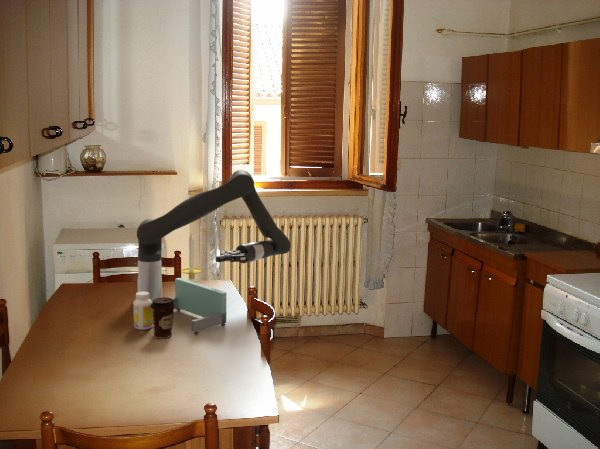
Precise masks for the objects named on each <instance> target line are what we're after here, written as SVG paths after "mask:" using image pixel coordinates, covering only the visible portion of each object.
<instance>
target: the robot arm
mask: <svg viewBox="0 0 600 449" xmlns="http://www.w3.org/2000/svg"><path fill="white" fill-rule="evenodd" d="M239 198H241V199H242V200H243V202H244V203H245V205H246V207H247V209H248V211H249V213H250V215H251V217H252V219H253V221H254V222H255V225H256V227H257V228H258V230H259V232H260V233H261V235H262V237H264V238H267V239H266V240H260V241H256V242H255V241H253V242H247V243H243V244H239V245H238V246H237V247H236V248H235V249H231V250H229V251H227V249H226V250H225V249H224V250H222V251H221V253H220V255H216V256H215V262H216V263H223V262H230V263H241V264H246V263H253V262H257V261H259V260H262V259H265V258H268V257H272V256H279V255H284V254H285V255H286V254H287V253H289V252H290V251H291V241H290V239H289V238H288V236H287V235H286V234H285V232H283V231H282V230H281V229H280V228H279V227H278V226H277V224H276V222H275V220H274V219H273V217H272V215H271V214H270V212H269V210H268V209H267V208H266V207H267V206H265V204H264V203H263V201H262V199H261V197H260V196H259V194H258V192H257V190H256V188H255V181H254V179H253V176H252V175H251V174H250V172H248V171H246V170H243V169H238V170H235V171H234V172H233V173H232V174H231V175H230V180H229V181H227V182H225V183H223V184H222V185H220V186H218V187H215V188H212V189H208V190H205V191H201V192H198V193H197V194H194V195H193V196H190V197H188V198H187V199H185V200H183V201H182V202H181V203H178V204H177V205H175V206H174V207H173V208H172V209H171V210H169V211H168V212H167V213H165V214H164V215H162V216H160V217H156V218H155V219H152V218H151V219H150V218H148V219H144V220H143V221H141V222H140V224H139V225H138V227H137V230H136V238H137V240H138V250H137V259H138V260H137V269H138V270H137V271H138V272H137V273H138V274H137V275H138V276H137V278H136V279H137V292H149V299H150V300H151V301H152V303H153V300H154V299H156V298H162V297H163V285H162V283H163V281H162V278H163V277H162V276H163V275H162V270H163V269H162V248H163V247H162V241H163V238H164V237H165V236H168V235H169V234H171V233H172V232H175V231H176V230H178V229H180V228H183V227H185V226H187V225H190V224H191V223H194V222H195V221H198V220H200V219H202V218H203V217H205V216H207V215H210V214H211V213H213V212H214V211H216V210H218V209H220V208H221V207H222V206H224V205H226V204H228V203H231V202H233V201H235V200H238V199H239Z"/></svg>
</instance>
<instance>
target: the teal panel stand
mask: <svg viewBox="0 0 600 449" xmlns="http://www.w3.org/2000/svg"><path fill="white" fill-rule="evenodd" d="M174 294H175V295H174V297H171V298H172V299H173V300H174V302H173V303H174V304H175V306H174V310H177V311H179V312H180V311H181V310H183V311H185V312H189V313H191V314H193V315H196V316H200V317H199V318H195V319H192V320H191V321H190V324H191V325H190V326H191V328H190V330H191V332H193V334H194V335H195V336H197V335H199V333H200V332H201V331H203V330H206V329H211V328H214V327H217V326H219V325H220V326H221V327H222V328H223V327H225V326H226V324H227V291H223V290H219V289H216V288H214V287H210V286H207V285H204V284H200V283H197V282H195V283H194V282H191V281H189V279H185V278H182V277H176V278H175V279H174Z"/></svg>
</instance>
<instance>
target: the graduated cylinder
mask: <svg viewBox="0 0 600 449" xmlns="http://www.w3.org/2000/svg"><path fill="white" fill-rule="evenodd" d="M181 273H183V274H185V275H188V281H191V282H194V283H196V282H195V280H196V279H195V275H196V274H200V273H202V269H201V268H198V267H197V268H196V267H195V237H194V235H193V232H192V231H191V232H190V235H189V236H188V268H182V269H181Z"/></svg>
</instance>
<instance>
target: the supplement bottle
mask: <svg viewBox="0 0 600 449" xmlns="http://www.w3.org/2000/svg"><path fill="white" fill-rule="evenodd" d="M151 304H152V301H151V300H150V299H149V292H138V291H137V292H136V293H135V300H134V301H133V304H132V305H133V306H132V307H133V327H134V329H136V330H139V331H140V330H141V331H144V330H145V331H146V330H150V329H151V328H152V327H153V316H152V309H151V307H150V305H151Z"/></svg>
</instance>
